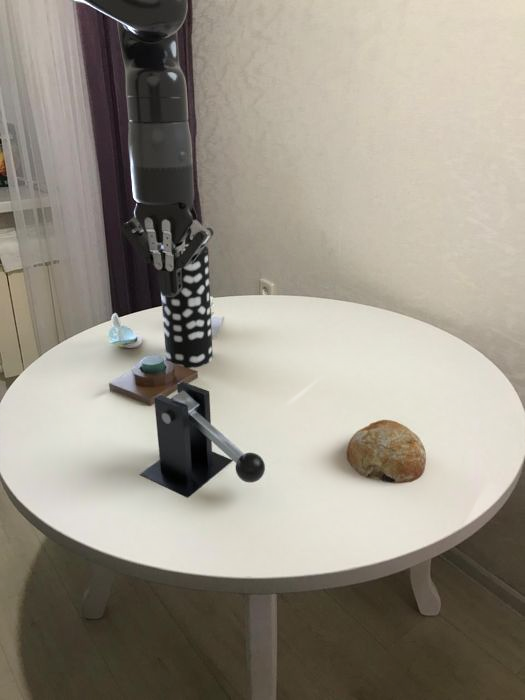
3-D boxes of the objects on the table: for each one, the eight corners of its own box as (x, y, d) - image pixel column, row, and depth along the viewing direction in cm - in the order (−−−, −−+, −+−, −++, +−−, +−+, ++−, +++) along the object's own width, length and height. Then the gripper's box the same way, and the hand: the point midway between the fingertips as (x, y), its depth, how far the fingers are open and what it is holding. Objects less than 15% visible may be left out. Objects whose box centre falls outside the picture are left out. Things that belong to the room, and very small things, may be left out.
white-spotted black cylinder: (158, 364, 104) (148, 254, 95) (178, 345, 111) (170, 241, 102) (202, 371, 101) (196, 258, 93) (219, 351, 109) (215, 245, 100)
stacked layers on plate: (216, 337, 114) (215, 310, 112) (171, 335, 115) (169, 309, 113) (223, 317, 123) (222, 292, 121) (181, 316, 124) (179, 291, 122)
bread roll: (343, 499, 76) (347, 470, 70) (346, 431, 83) (349, 399, 77) (422, 506, 75) (432, 477, 69) (418, 437, 82) (427, 404, 75)
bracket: (233, 467, 77) (231, 388, 72) (188, 505, 70) (182, 421, 65) (186, 447, 81) (181, 371, 76) (139, 481, 74) (130, 400, 69)
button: (153, 377, 92) (152, 367, 91) (137, 371, 94) (136, 361, 93) (169, 368, 94) (168, 358, 94) (153, 362, 96) (152, 353, 96)
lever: (264, 478, 70) (274, 461, 68) (247, 493, 67) (258, 476, 65) (180, 403, 74) (187, 385, 72) (161, 415, 71) (168, 396, 69)
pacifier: (139, 334, 116) (108, 337, 114) (138, 304, 113) (106, 307, 111) (144, 350, 109) (111, 353, 108) (142, 318, 107) (108, 321, 105)
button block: (151, 412, 89) (149, 389, 87) (110, 395, 94) (107, 373, 92) (198, 383, 97) (197, 361, 96) (158, 369, 102) (156, 348, 100)
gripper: (224, 159, 72) (227, 293, 80) (134, 154, 77) (145, 280, 84) (193, 168, 66) (200, 311, 73) (97, 161, 71) (113, 297, 78)
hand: (171, 294), depth 79 cm, fingers closed
